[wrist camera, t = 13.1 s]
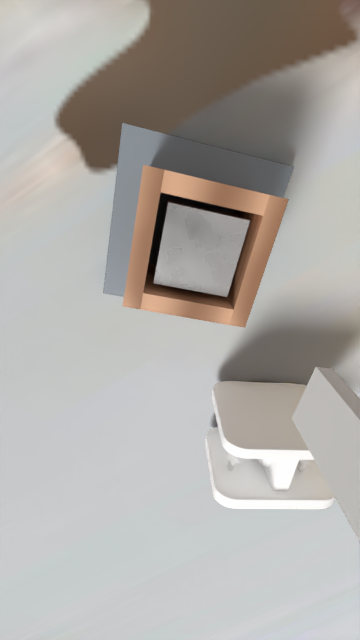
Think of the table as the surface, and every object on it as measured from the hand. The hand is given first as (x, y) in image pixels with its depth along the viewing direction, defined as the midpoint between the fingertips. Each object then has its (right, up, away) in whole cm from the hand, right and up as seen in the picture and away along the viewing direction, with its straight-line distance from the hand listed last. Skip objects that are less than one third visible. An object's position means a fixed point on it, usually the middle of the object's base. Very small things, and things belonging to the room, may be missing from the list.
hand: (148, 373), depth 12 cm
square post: (+2, +11, +19) cm, 22 cm away
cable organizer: (+12, -11, +32) cm, 36 cm away
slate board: (+2, +11, +20) cm, 23 cm away
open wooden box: (+2, +11, +19) cm, 22 cm away
